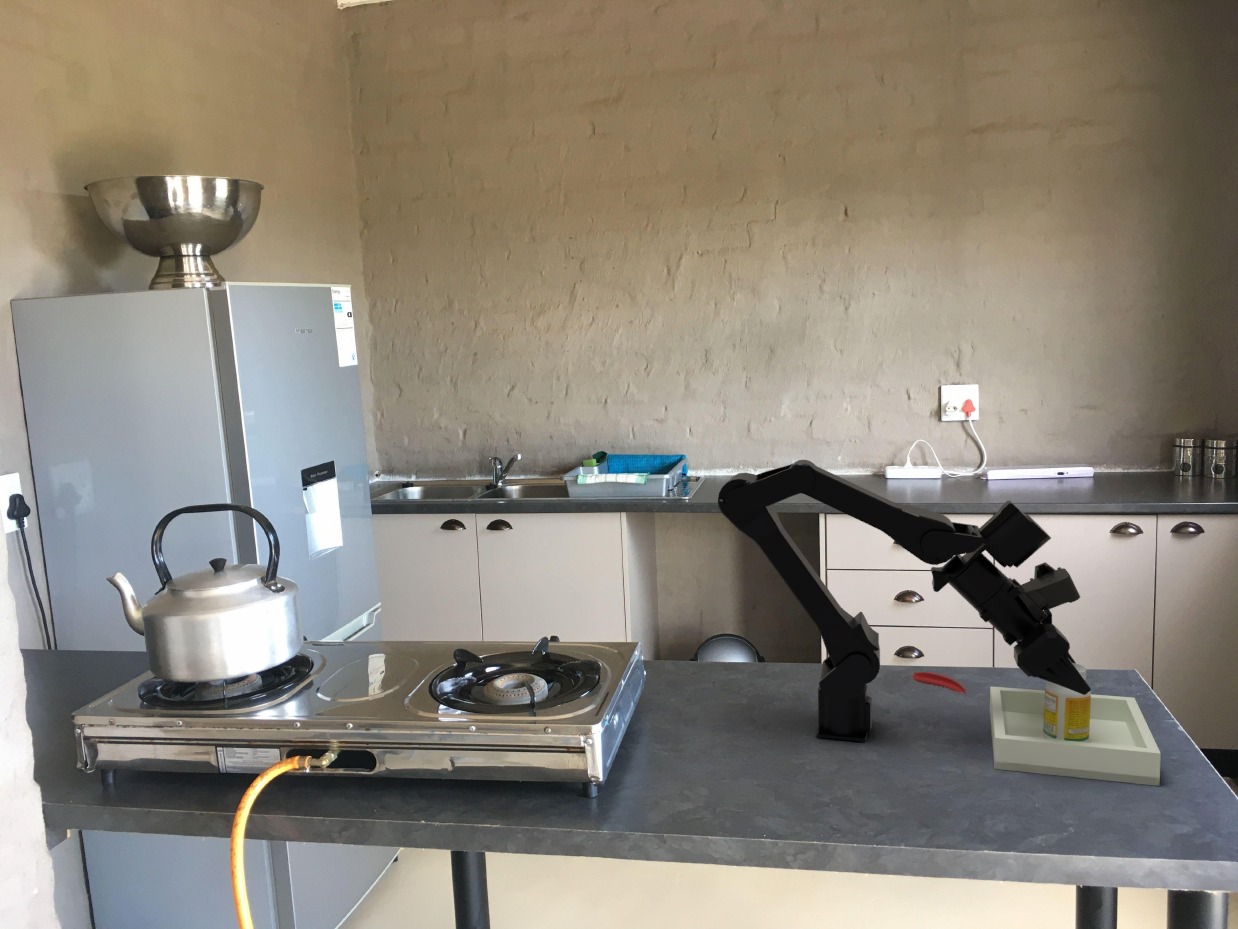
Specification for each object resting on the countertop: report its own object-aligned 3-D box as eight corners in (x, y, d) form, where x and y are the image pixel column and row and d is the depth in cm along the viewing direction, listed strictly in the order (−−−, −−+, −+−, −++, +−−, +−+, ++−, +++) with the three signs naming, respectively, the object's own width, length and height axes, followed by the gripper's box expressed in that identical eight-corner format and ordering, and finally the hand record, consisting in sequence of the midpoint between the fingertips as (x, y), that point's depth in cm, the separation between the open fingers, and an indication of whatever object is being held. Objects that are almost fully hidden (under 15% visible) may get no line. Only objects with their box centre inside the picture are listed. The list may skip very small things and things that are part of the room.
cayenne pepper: (901, 675, 155) (901, 664, 154) (927, 671, 156) (927, 660, 156) (948, 702, 143) (948, 689, 143) (975, 697, 145) (975, 685, 144)
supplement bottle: (1037, 741, 125) (1039, 668, 124) (1050, 727, 130) (1052, 657, 128) (1082, 751, 122) (1085, 677, 121) (1094, 737, 126) (1096, 665, 125)
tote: (994, 768, 120) (995, 737, 120) (989, 713, 137) (990, 686, 137) (1159, 786, 115) (1160, 753, 114) (1133, 726, 131) (1134, 697, 131)
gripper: (1050, 566, 115) (1151, 662, 113) (1027, 533, 132) (1114, 616, 131) (978, 628, 118) (1075, 723, 116) (965, 588, 136) (1049, 669, 134)
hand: (1080, 679), depth 124 cm, fingers open, 9 cm apart
